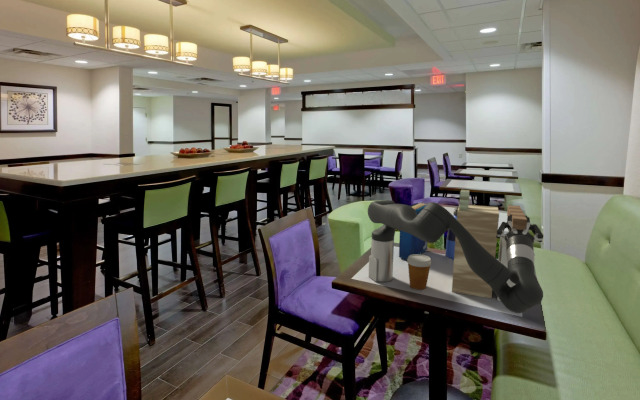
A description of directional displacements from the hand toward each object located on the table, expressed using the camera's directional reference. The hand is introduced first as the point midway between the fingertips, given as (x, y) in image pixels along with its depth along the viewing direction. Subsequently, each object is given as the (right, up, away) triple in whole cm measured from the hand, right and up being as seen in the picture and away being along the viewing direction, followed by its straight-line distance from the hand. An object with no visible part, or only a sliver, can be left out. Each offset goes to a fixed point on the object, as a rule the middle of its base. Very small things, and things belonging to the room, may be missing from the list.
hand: (518, 216), depth 126 cm
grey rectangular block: (+4, -30, +15) cm, 34 cm away
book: (-21, -22, +59) cm, 67 cm away
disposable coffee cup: (-29, -29, +22) cm, 46 cm away
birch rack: (-8, -29, +20) cm, 36 cm away
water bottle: (-1, -22, +57) cm, 61 cm away
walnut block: (+2, -2, +6) cm, 7 cm away
